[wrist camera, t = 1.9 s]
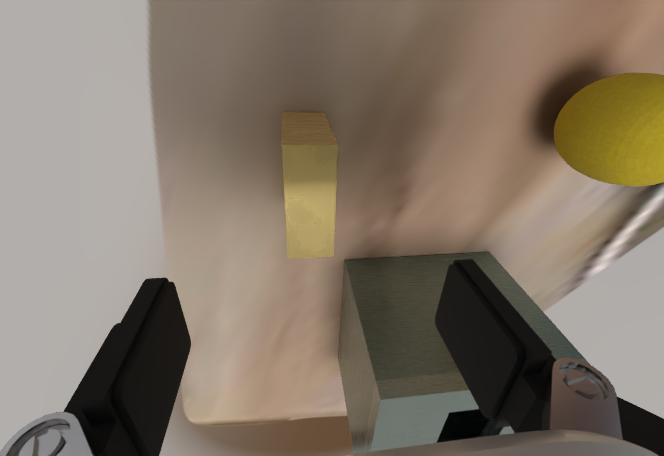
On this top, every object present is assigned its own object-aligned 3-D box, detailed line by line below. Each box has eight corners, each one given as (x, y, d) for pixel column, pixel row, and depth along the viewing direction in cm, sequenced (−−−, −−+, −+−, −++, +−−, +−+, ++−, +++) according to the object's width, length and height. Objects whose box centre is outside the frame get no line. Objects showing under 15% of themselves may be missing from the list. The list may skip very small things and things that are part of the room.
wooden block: (282, 111, 18) (281, 145, 13) (323, 112, 19) (338, 144, 14) (286, 203, 22) (287, 258, 17) (322, 202, 22) (333, 256, 17)
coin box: (344, 259, 25) (380, 399, 16) (489, 251, 26) (599, 375, 17) (338, 357, 31) (361, 497, 22) (454, 346, 33) (521, 473, 24)
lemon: (519, 161, 22) (621, 221, 15) (535, 73, 19) (671, 101, 12) (596, 146, 22) (730, 199, 16) (624, 57, 19) (807, 75, 12)
